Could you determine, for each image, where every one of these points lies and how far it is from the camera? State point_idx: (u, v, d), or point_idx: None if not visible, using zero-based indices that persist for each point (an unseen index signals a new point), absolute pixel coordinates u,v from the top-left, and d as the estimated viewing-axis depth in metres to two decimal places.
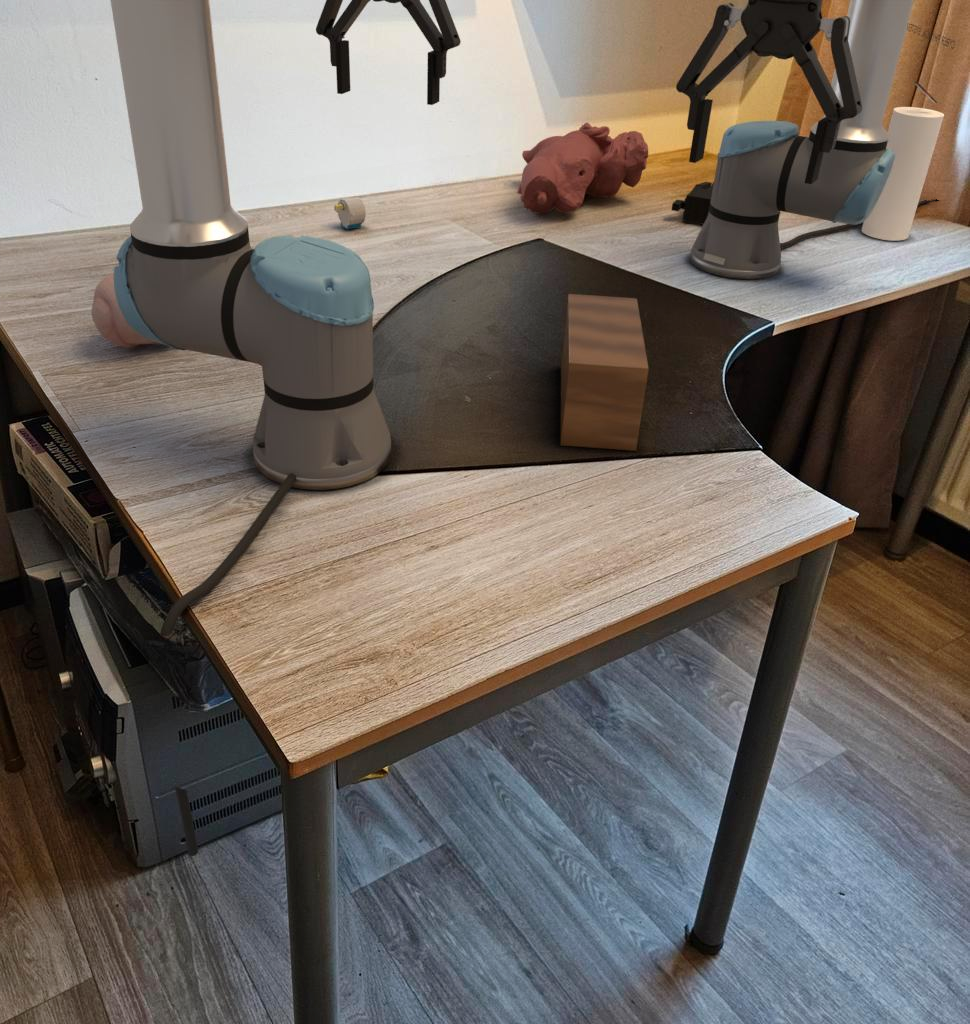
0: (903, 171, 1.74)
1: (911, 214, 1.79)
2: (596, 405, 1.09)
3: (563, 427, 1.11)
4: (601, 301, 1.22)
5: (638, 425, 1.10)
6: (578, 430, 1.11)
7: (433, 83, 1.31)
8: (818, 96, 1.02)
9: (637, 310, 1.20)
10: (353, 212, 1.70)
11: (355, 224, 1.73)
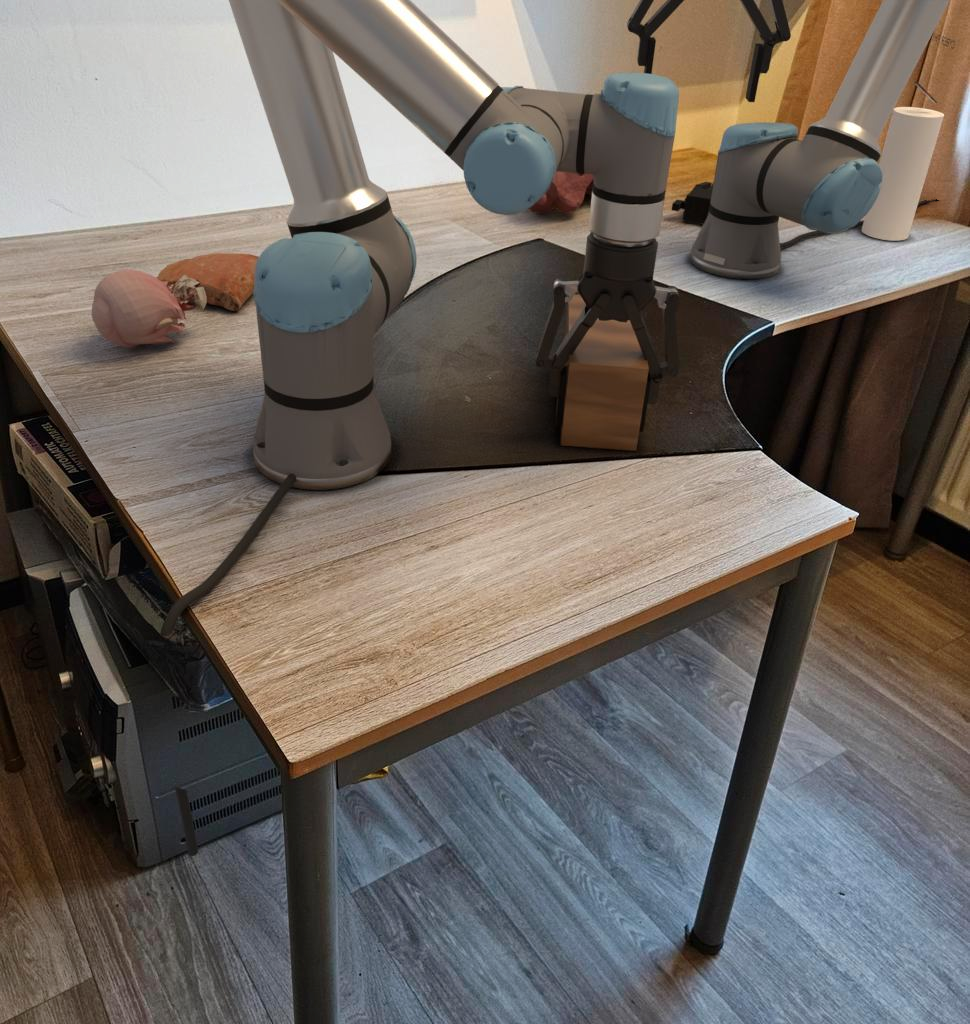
0: (903, 171, 1.74)
1: (911, 214, 1.79)
2: (597, 405, 1.09)
3: (563, 427, 1.11)
4: None
5: (638, 425, 1.10)
6: (578, 430, 1.11)
7: None
8: None
9: None
10: None
11: None
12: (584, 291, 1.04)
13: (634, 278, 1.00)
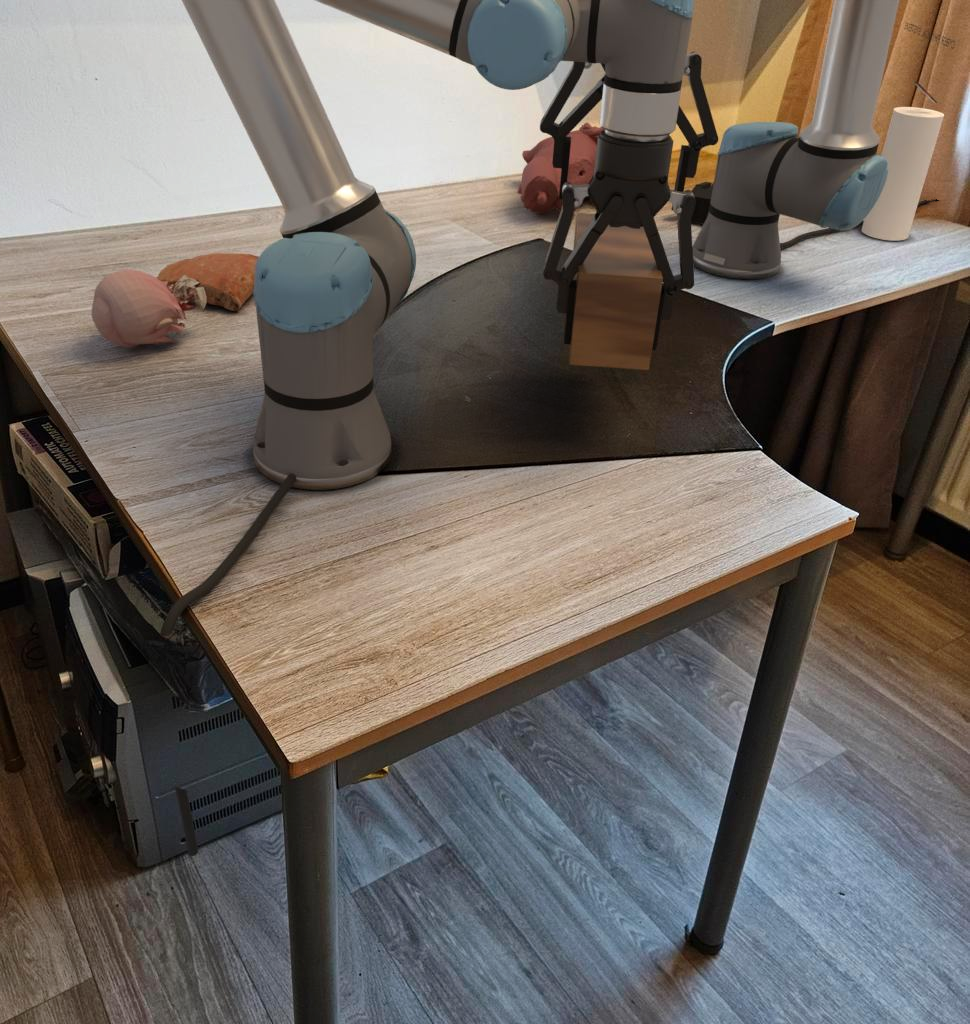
0: (903, 171, 1.74)
1: (911, 214, 1.79)
2: (608, 319, 1.03)
3: (572, 344, 1.05)
4: None
5: (651, 341, 1.04)
6: (588, 348, 1.05)
7: None
8: None
9: None
10: None
11: None
12: (595, 194, 0.98)
13: (648, 177, 0.95)
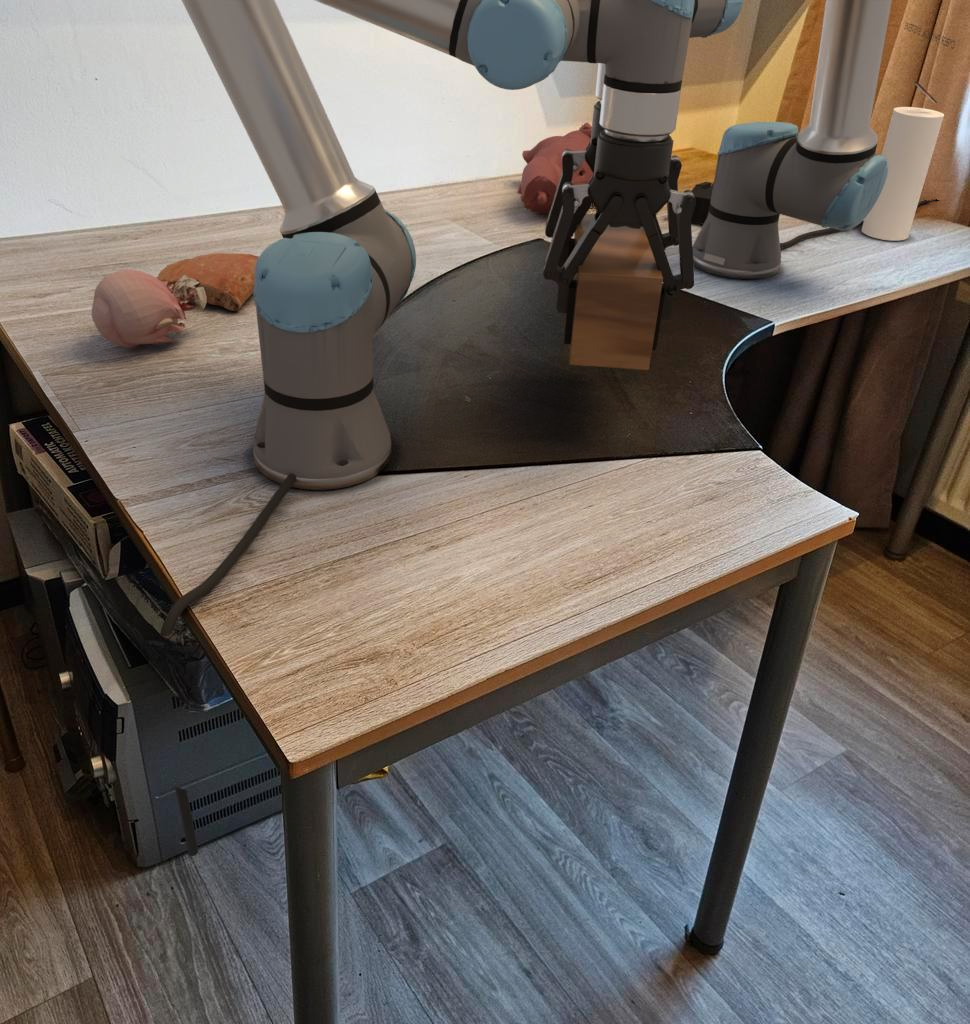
0: (903, 171, 1.74)
1: (911, 214, 1.79)
2: (608, 319, 1.03)
3: (572, 344, 1.05)
4: None
5: (651, 341, 1.04)
6: (588, 348, 1.05)
7: None
8: None
9: None
10: None
11: None
12: (595, 194, 0.98)
13: (648, 177, 0.95)
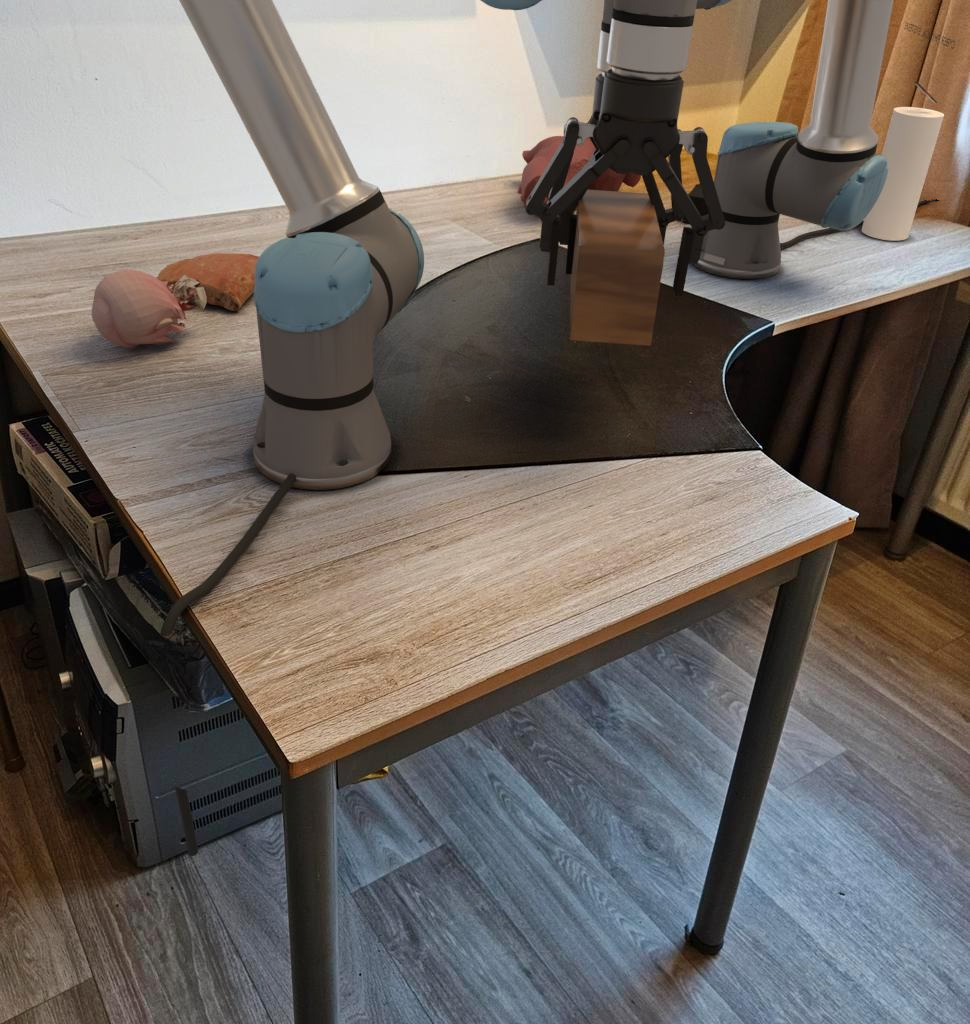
0: (903, 171, 1.74)
1: (911, 214, 1.79)
2: (609, 293, 1.02)
3: (573, 319, 1.04)
4: (613, 195, 1.14)
5: (653, 316, 1.03)
6: (589, 323, 1.04)
7: (686, 270, 1.00)
8: None
9: None
10: None
11: None
12: (600, 136, 0.93)
13: (657, 118, 0.90)
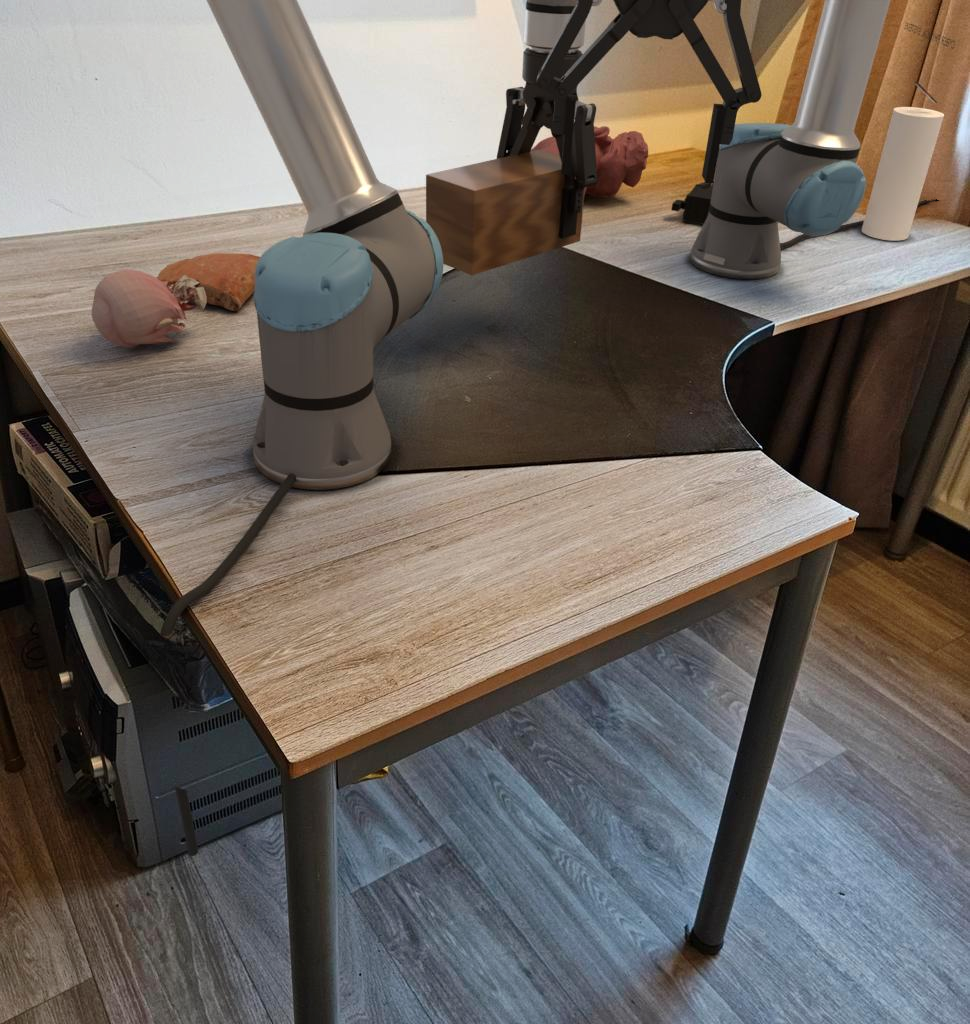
0: (903, 171, 1.74)
1: (911, 214, 1.79)
2: (444, 221, 1.21)
3: None
4: (551, 157, 1.29)
5: (471, 249, 1.19)
6: None
7: (717, 153, 0.90)
8: None
9: None
10: None
11: None
12: None
13: None
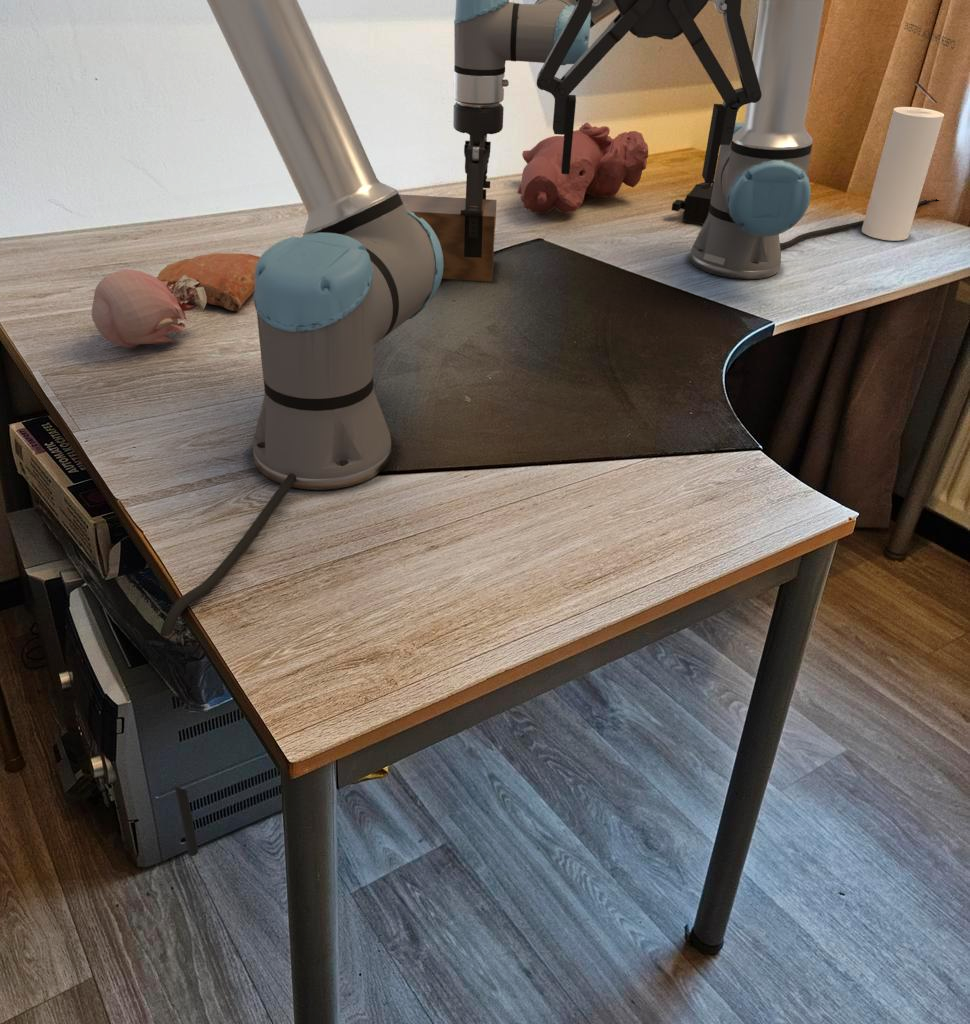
0: (903, 171, 1.74)
1: (911, 214, 1.79)
2: None
3: None
4: (483, 206, 1.53)
5: None
6: None
7: (717, 153, 0.90)
8: (485, 176, 1.56)
9: None
10: None
11: None
12: None
13: None
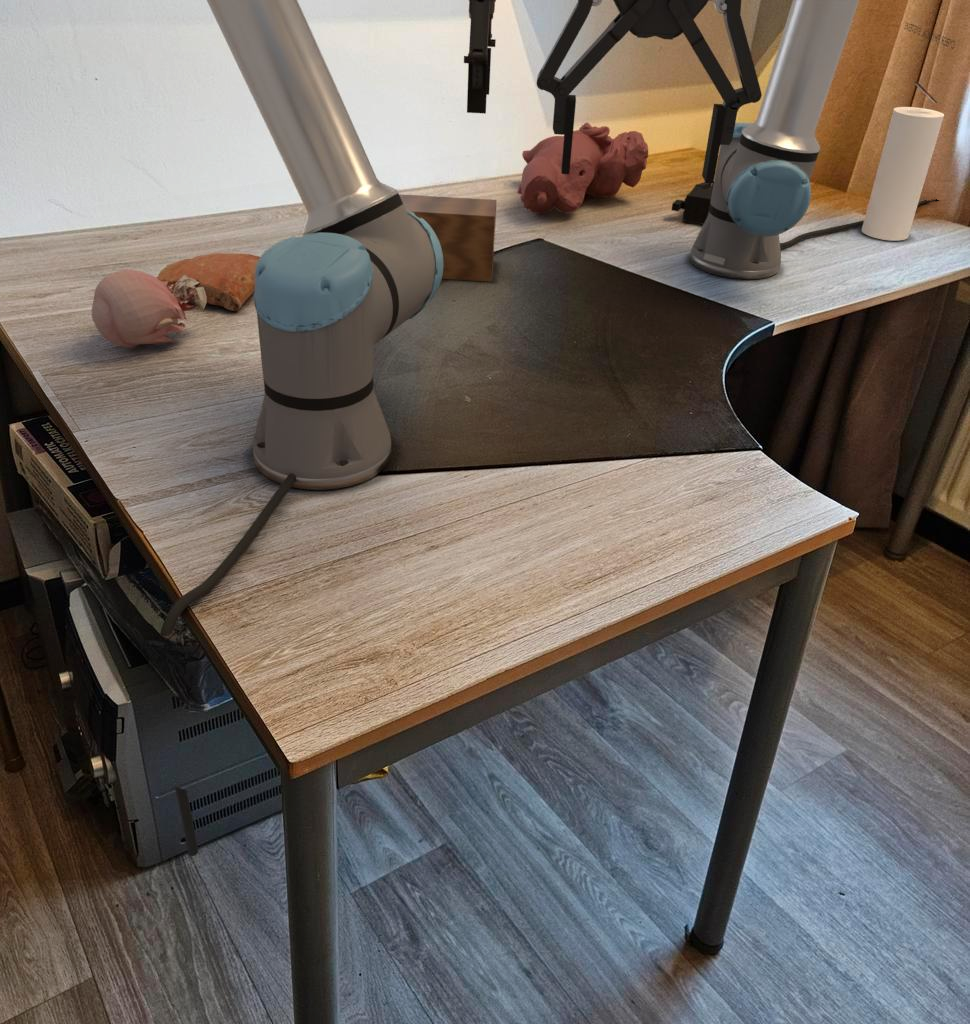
0: (903, 171, 1.74)
1: (911, 214, 1.79)
2: None
3: None
4: (483, 206, 1.53)
5: None
6: None
7: (717, 153, 0.90)
8: (490, 31, 1.44)
9: (468, 214, 1.49)
10: None
11: None
12: None
13: None
